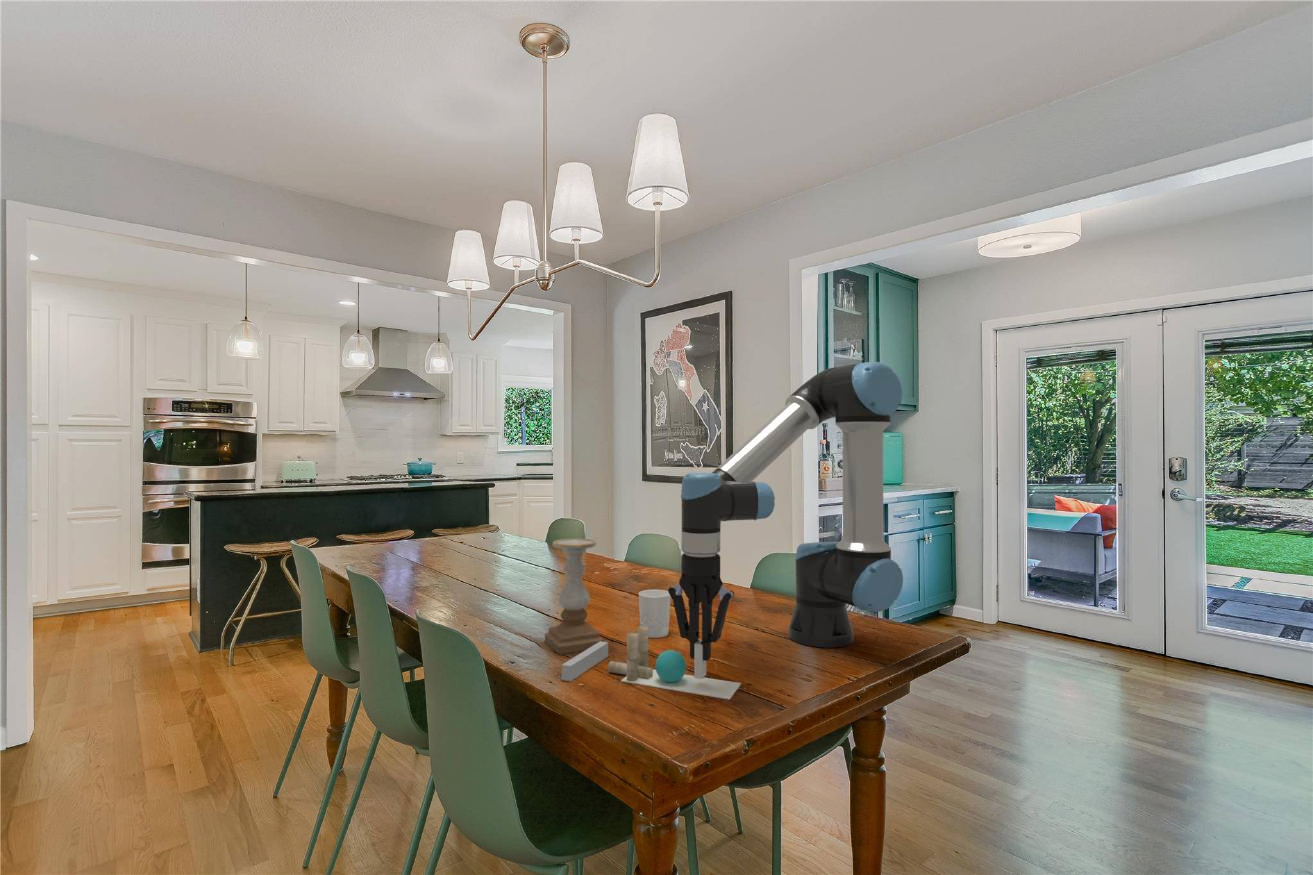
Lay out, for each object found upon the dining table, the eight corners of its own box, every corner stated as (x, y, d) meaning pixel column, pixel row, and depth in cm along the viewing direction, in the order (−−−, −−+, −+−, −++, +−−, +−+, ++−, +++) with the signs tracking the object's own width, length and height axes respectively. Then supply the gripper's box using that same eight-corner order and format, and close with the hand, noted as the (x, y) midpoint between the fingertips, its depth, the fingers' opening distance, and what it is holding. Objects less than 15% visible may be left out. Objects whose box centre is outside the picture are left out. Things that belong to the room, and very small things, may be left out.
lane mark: (741, 684, 120) (741, 683, 120) (729, 699, 113) (729, 698, 113) (637, 668, 129) (637, 667, 129) (621, 681, 122) (621, 680, 122)
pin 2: (649, 670, 128) (649, 626, 128) (645, 674, 126) (645, 629, 126) (639, 669, 128) (640, 625, 129) (635, 672, 126) (635, 628, 126)
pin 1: (639, 678, 123) (639, 633, 123) (634, 682, 121) (635, 636, 121) (629, 677, 124) (629, 631, 124) (624, 681, 122) (624, 635, 122)
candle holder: (558, 655, 137) (559, 546, 137) (543, 641, 146) (544, 539, 147) (604, 647, 142) (605, 543, 142) (587, 634, 152) (588, 536, 152)
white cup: (671, 629, 156) (672, 589, 156) (669, 639, 148) (669, 597, 148) (640, 628, 157) (640, 589, 157) (636, 638, 149) (636, 596, 149)
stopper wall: (608, 656, 136) (608, 642, 136) (570, 681, 121) (570, 666, 121) (600, 654, 137) (600, 641, 137) (561, 679, 122) (561, 664, 122)
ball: (664, 644, 126) (659, 673, 125) (653, 650, 120) (648, 681, 120) (692, 651, 124) (687, 681, 123) (682, 657, 118) (677, 689, 118)
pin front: (651, 665, 124) (612, 658, 128) (647, 672, 122) (607, 665, 126) (653, 674, 124) (614, 667, 128) (649, 681, 123) (609, 674, 126)
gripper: (738, 552, 121) (738, 674, 120) (676, 548, 126) (675, 665, 125) (728, 559, 114) (727, 688, 114) (662, 553, 119) (661, 677, 119)
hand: (700, 676), depth 120 cm, fingers closed
